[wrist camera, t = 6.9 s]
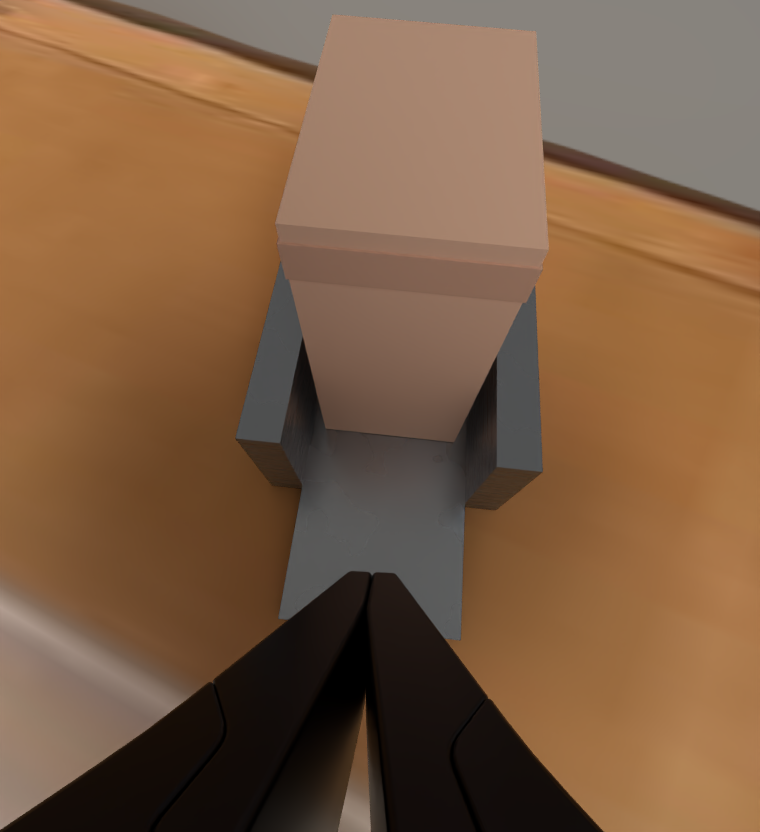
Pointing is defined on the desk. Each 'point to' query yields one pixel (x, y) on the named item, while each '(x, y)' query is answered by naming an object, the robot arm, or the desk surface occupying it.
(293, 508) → the desk surface
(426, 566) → the chute
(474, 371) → the block
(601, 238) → the desk surface
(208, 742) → the robot arm
